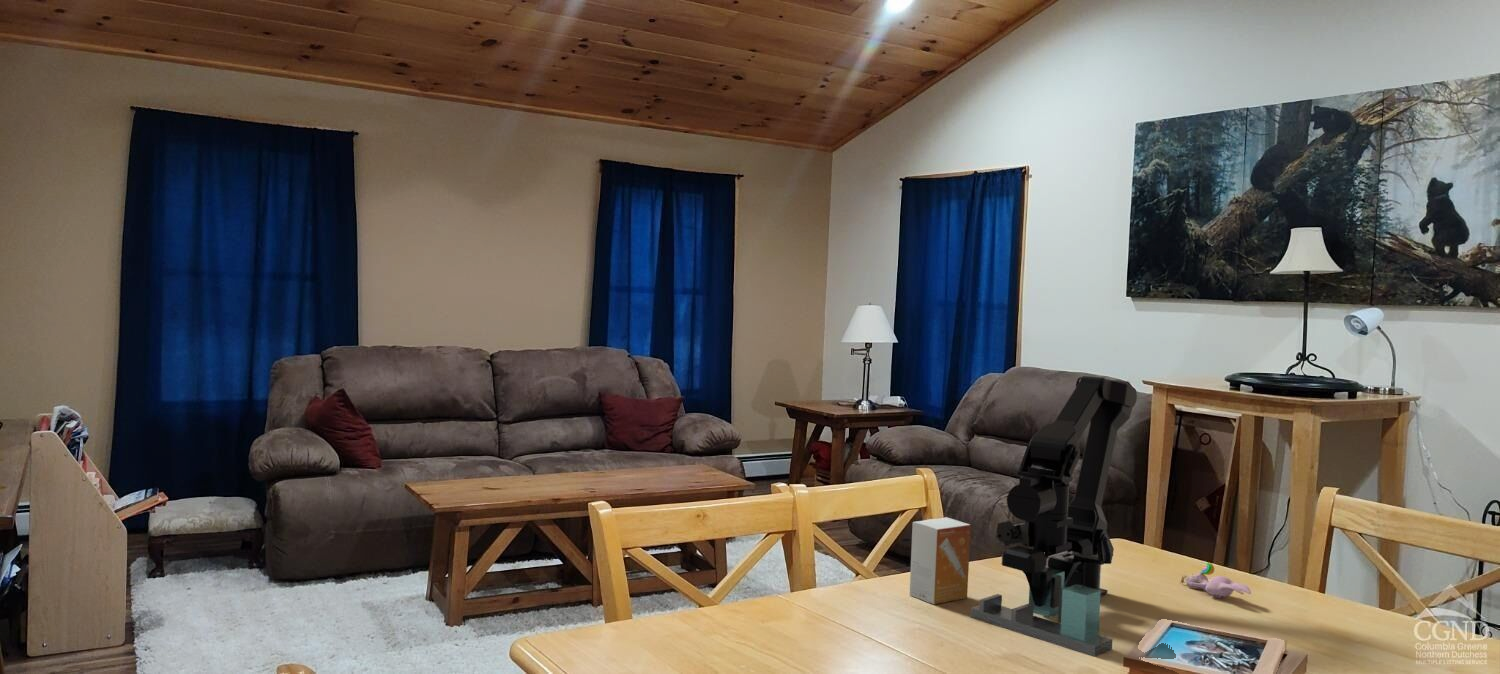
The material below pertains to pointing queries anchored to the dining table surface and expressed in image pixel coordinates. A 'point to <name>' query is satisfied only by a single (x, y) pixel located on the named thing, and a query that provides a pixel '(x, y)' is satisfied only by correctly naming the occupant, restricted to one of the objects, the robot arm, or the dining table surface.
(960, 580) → the small box
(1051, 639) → the rail
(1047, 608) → the block
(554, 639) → the dining table surface
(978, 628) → the dining table surface
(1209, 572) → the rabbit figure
